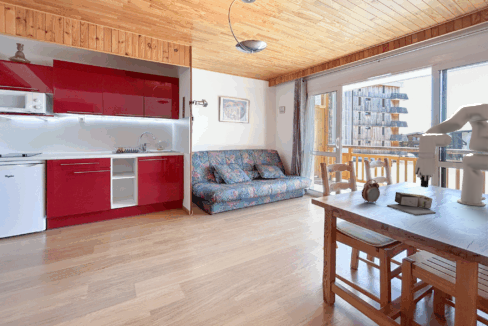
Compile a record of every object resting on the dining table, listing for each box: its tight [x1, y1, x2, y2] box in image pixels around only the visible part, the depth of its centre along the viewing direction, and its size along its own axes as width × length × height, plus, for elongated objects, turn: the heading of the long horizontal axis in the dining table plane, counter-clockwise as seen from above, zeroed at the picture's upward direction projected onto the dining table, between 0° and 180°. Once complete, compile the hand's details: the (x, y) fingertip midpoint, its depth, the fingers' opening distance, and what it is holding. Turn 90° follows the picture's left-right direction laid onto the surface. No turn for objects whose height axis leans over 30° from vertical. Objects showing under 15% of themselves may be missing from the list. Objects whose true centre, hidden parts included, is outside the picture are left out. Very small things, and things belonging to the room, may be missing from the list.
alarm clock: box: [361, 179, 381, 203], centre depth 148 cm, size 11×5×15 cm, turn 105°
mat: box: [386, 203, 436, 216], centre depth 135 cm, size 14×18×1 cm
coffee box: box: [394, 191, 434, 210], centre depth 141 cm, size 9×6×16 cm
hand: (424, 186), depth 136 cm, fingers closed
